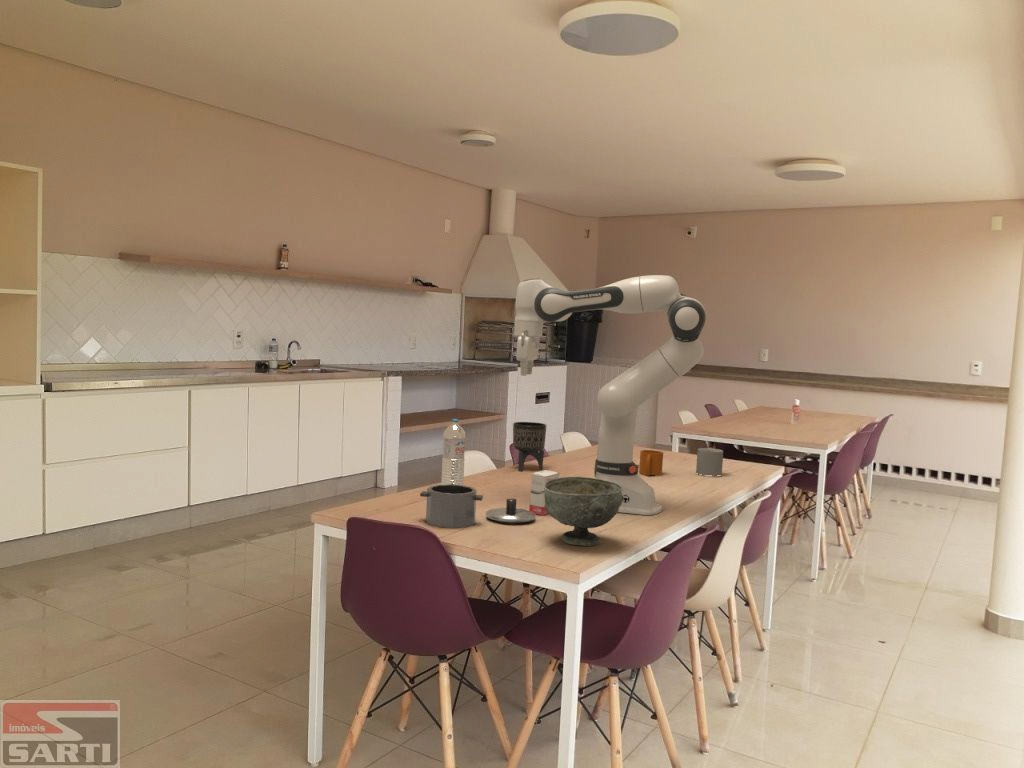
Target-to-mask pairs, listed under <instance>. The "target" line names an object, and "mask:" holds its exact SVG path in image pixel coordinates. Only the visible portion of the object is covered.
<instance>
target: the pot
mask: <svg viewBox="0 0 1024 768" xmlns="http://www.w3.org/2000/svg"><path fill="white" fill-rule="evenodd" d="M419 496H420V497H423V498H426V506H425V507H426V509H425V514H426V515H425V522H426V523H427V524H429V525H430V526H432V527H433V526H434V527H438V528H445V529H446V528H447V529H458V528H461V529H462V528H468V527H472V526H474V524H476V510H477V509H476V508H477V507H476V506H477V501H483V499H484V495H483V494H477V488H474V487H472V486H468V485H467V486H466V485H464V484H463V485H441V484H437V485H430V486H429V487H427V490H424V491H421V492H420V494H419Z"/></svg>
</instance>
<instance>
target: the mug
mask: <svg viewBox="0 0 1024 768" xmlns="http://www.w3.org/2000/svg"><path fill="white" fill-rule="evenodd" d="M639 454H640V456H639V468H638V474H639V473H640V474H639V475H642V474H644V475H643V476H647V475H648V476H647V477H650V476H649V475H661V474H663V464H664V463H663V462H664V452H663V451H660V450H653V449H641V450H640V453H639ZM661 476H662V475H661Z"/></svg>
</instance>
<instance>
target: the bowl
mask: <svg viewBox="0 0 1024 768" xmlns="http://www.w3.org/2000/svg"><path fill="white" fill-rule="evenodd" d="M621 492H622V487H621V486H620V485H619V484H616V483H613V482H608V481H604V480H600V479H595V477H594V478H593V477H584V476H565V477H559V478H556V479H552V480H549V481H547V482H546V483H545V484H544V497H545V509H546V511H547V512H548V515H549V516H550V517H551V518H552V519H554V520H555V521H558V523H560V524H562V525H565V526H569V527H573V530H568V531H566V532H564V533H562V535H561V540H562V541H563V542H564V543H565V544H568V545H574V546H584V547H585V546H587V547H589V546H590V547H591V546H596V545H599V544H600V541H601V540H600V537H599V536H598V535H597V534H595V533H593V532H591V531H589V529H594V528H598V527H601V526H604V525H606V524H608V523H609V522H610V521H612V519H613V518H614V517H615V516H616V515H617V514H618V513H619V512H618V510H619V506H621V504H622V499H623V498H622V493H621Z"/></svg>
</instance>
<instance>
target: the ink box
mask: <svg viewBox="0 0 1024 768" xmlns="http://www.w3.org/2000/svg"><path fill="white" fill-rule="evenodd" d="M556 478H560V472H558V471H553V470H549V469H548V470H547V469H545V470H542V471H541V470H538V471H535V472H533V473H532V474H531V485H530V495H529V509H528V511H531V512H534V513H535V514H536V515H539V516H545V515H547V514H548V512H547V511H546V509H545V497H544V484H545V483H546V482H547V481H549V480H552V479H556ZM548 515H549V514H548Z"/></svg>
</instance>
